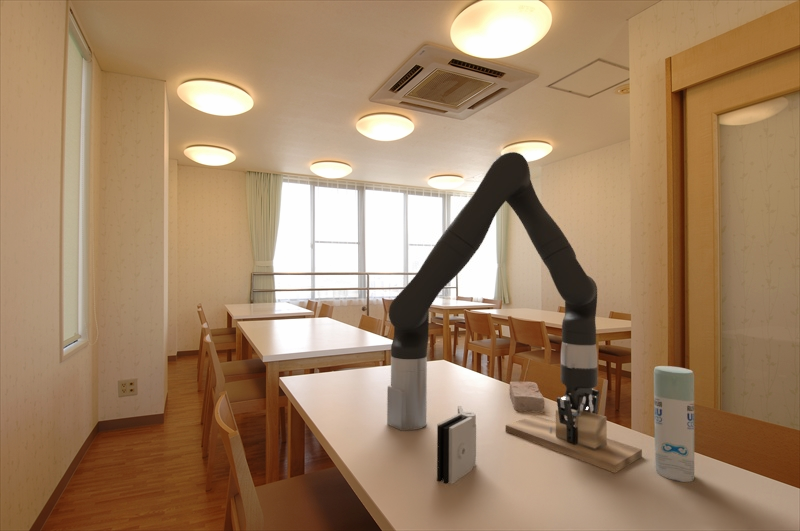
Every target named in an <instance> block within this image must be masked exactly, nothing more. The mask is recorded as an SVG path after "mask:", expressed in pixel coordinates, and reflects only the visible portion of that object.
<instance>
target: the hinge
mask: <svg viewBox="0 0 800 531" xmlns="http://www.w3.org/2000/svg"><path fill="white" fill-rule="evenodd" d="M476 421H477V417H476V413H475V412H472V411H464V409H463V406H462V405H457V414H455V415H453V416H451V417H449V418H447V419H445V420H442V421H441V422H438V423H437V425H436V429H437V430H436V432H437V433H436V436H437V438H436V440H437V441H436V442H437V443H436V445H437V446H436V454H437V455H436V460H437V461H436V481H438V482H442V481H443V484H445V485H446V484H448V483H449V484H451V485H453V484H454V483H456V482H457V481H459V479H461V478H462V477H464V476H465V475H467V474H468V473H469V472H471V471H472V470H473V468H474V467H475V466H476V459H477V458H476V457H477V422H476Z"/></svg>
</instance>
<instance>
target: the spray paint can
mask: <svg viewBox="0 0 800 531" xmlns="http://www.w3.org/2000/svg"><path fill="white" fill-rule="evenodd" d="M653 402H654V404H653V405H654V409H653V410H654V416H653V417H654V459H655V460H654V461H655V462H654V463H655V464H654V465H655V466H654V468H655V471H656V473H657V474H658V475H660V476H662V477H663V478H666V479H669V480H672V481H676V482H681V483H682V482H683V483H685V482H686V483H689V482H692V481H694V480H695V374H694V371H693V370H691V369H688V368H684V367H679V366H670V365H659V366H655V367H654V370H653Z"/></svg>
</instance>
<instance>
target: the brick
mask: <svg viewBox="0 0 800 531" xmlns="http://www.w3.org/2000/svg"><path fill="white" fill-rule="evenodd" d="M509 396H510V400H511V402H512V405H513V408H514V410H515V411H518V412H532V413H544V409H545V398H544V396H543V394H542V393H541V392H540V389H539V385H538V384H537V383H536V382H535V381H534V382H533V381H510V382H509Z"/></svg>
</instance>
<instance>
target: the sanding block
mask: <svg viewBox="0 0 800 531" xmlns="http://www.w3.org/2000/svg"><path fill="white" fill-rule="evenodd" d="M571 411H573V412H577V411H576V410H573V409H571ZM564 418H565V415H564ZM572 418H573V420H574V415H572ZM555 422H556V437H558V438H561V439H564V440H567V427H566V425H565V424H561V423H560V420H559V413H558V408H557V409H555ZM607 426H608V425H607V416H604V415H602V414H598V413H597V414H595V413H592V412H591V413H589V412H585V411H582V416H581V417H578V425H577V427H578V443H577V444H578V445H581V446H584V447H586V448H589V449H592V450H597V449H599V448H601V447H603V446H605V445H607V438H608V434H607V433H608V432H607V430H608V429H607Z"/></svg>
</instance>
